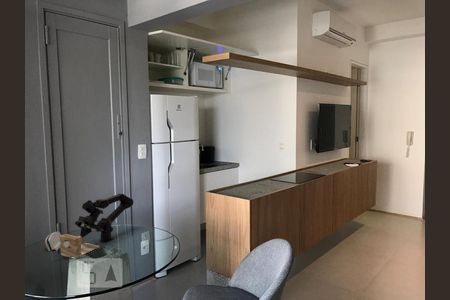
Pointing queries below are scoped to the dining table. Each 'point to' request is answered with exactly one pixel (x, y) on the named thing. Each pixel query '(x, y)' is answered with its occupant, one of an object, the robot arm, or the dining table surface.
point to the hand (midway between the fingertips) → (80, 238)
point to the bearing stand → (75, 246)
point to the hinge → (53, 241)
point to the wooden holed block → (67, 243)
